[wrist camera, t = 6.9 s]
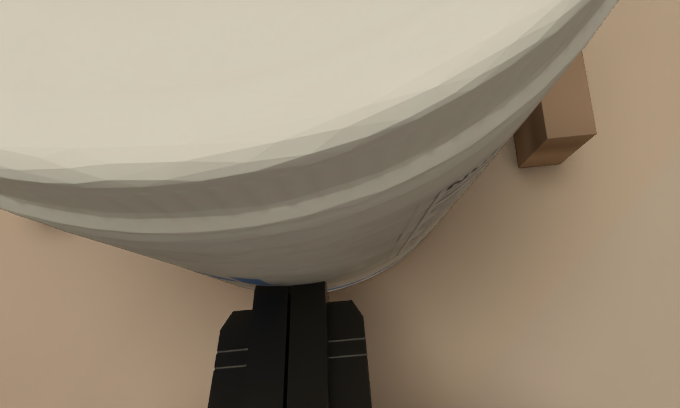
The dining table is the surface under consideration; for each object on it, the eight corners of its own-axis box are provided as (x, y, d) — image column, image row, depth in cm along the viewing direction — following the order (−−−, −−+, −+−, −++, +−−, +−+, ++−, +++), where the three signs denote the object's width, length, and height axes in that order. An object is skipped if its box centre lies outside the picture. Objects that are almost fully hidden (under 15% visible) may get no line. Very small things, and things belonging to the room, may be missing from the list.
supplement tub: (86, 216, 19) (-781, -123, 5) (226, -55, 21) (-103, -960, 6) (391, 355, 18) (501, 474, 4) (515, 58, 20) (949, -708, 5)
